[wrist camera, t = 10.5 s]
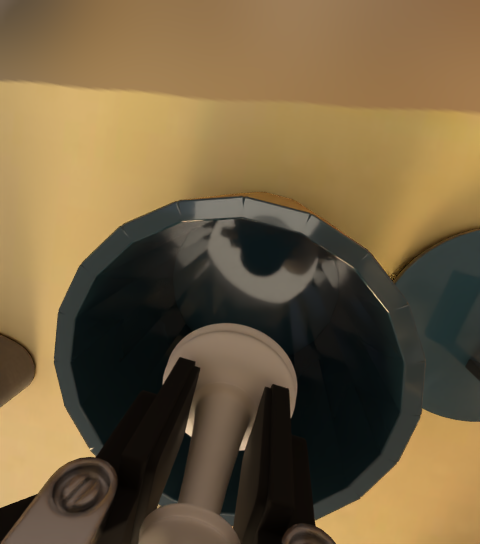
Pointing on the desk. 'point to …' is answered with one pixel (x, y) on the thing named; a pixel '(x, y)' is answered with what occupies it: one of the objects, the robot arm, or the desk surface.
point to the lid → (448, 323)
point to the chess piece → (218, 427)
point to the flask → (13, 369)
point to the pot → (256, 314)
